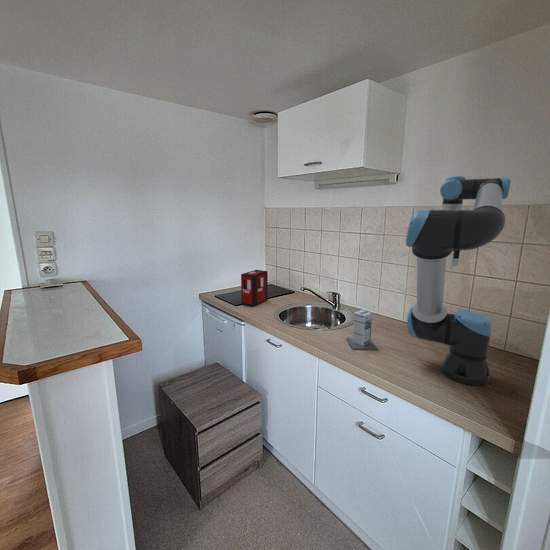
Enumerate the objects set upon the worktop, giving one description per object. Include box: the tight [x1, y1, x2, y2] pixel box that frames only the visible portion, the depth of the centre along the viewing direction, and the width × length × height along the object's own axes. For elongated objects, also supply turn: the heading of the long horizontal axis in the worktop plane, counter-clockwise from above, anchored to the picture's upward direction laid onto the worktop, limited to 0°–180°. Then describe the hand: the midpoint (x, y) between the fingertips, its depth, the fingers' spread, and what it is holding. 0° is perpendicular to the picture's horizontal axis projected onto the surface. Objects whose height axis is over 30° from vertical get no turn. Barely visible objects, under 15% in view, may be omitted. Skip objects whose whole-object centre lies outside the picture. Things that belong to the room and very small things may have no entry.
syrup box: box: [352, 309, 373, 346], centre depth 137 cm, size 6×6×14 cm
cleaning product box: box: [240, 269, 269, 308], centre depth 197 cm, size 16×9×20 cm, turn 148°
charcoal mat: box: [345, 337, 378, 351], centre depth 139 cm, size 11×11×1 cm
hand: (444, 263), depth 136 cm, fingers open, 13 cm apart
